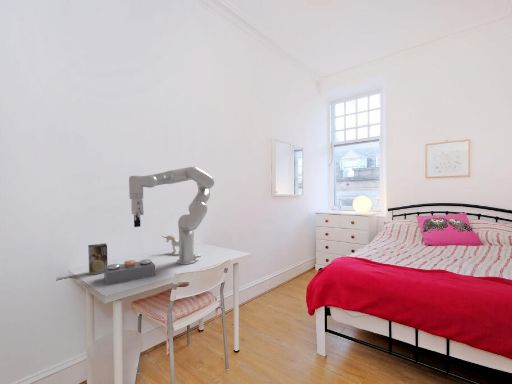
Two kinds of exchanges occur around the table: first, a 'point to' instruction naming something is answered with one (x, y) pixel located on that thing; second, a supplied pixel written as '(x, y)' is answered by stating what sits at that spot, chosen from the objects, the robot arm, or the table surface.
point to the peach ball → (129, 263)
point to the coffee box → (97, 258)
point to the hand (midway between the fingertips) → (137, 226)
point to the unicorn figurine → (174, 241)
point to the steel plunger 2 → (145, 262)
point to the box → (129, 273)
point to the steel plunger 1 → (113, 267)
